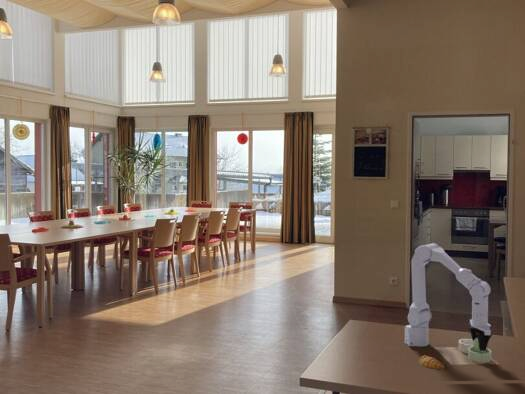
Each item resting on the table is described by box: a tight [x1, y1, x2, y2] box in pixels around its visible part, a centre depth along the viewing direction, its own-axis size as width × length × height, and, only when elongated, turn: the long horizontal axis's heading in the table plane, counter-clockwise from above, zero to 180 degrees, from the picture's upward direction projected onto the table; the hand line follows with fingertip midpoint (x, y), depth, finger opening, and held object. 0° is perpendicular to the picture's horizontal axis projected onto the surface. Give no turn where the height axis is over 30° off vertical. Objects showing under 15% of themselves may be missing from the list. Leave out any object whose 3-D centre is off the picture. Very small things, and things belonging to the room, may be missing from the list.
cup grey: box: [458, 338, 474, 354], centre depth 213 cm, size 8×8×4 cm
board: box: [433, 346, 499, 366], centre depth 208 cm, size 18×20×1 cm
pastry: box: [418, 354, 445, 370], centre depth 198 cm, size 9×7×4 cm
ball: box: [473, 338, 480, 351], centre depth 204 cm, size 5×5×5 cm
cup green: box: [468, 347, 492, 363], centre depth 204 cm, size 8×8×4 cm
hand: (479, 347), depth 204 cm, fingers closed on ball, 5 cm apart
